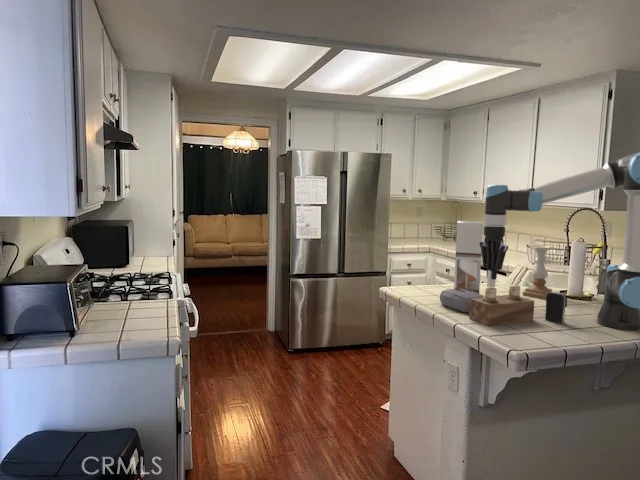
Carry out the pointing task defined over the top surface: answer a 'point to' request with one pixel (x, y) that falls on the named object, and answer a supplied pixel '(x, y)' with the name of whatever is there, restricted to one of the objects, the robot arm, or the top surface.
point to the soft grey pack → (458, 298)
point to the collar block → (501, 310)
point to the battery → (555, 306)
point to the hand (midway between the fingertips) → (490, 286)
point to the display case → (468, 255)
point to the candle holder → (539, 274)
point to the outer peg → (490, 294)
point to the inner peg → (514, 292)
